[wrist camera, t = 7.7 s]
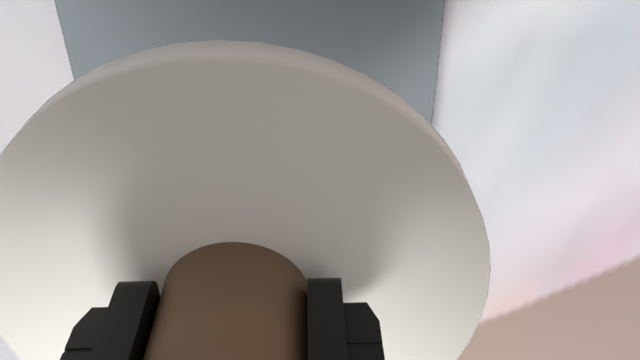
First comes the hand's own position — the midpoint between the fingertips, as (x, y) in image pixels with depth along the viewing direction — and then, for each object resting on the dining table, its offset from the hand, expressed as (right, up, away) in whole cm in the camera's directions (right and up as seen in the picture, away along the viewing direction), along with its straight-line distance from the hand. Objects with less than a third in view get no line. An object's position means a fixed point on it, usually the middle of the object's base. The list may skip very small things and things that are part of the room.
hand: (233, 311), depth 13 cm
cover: (0, +1, +1) cm, 1 cm away
